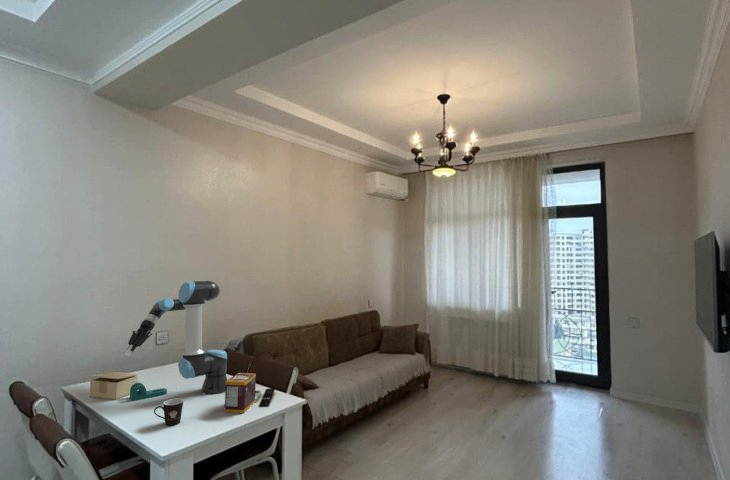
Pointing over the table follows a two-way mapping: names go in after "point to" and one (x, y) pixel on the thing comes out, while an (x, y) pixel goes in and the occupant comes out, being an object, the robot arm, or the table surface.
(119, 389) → the carton
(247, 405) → the supplement box
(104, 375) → the carton lid
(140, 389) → the bracket
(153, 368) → the table surface
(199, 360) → the robot arm
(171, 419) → the coffee mug
